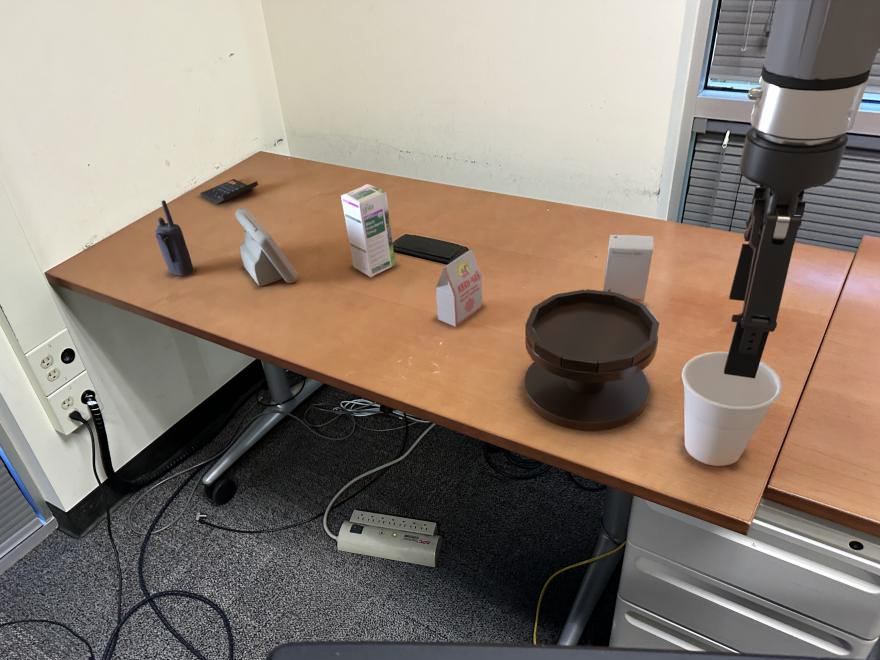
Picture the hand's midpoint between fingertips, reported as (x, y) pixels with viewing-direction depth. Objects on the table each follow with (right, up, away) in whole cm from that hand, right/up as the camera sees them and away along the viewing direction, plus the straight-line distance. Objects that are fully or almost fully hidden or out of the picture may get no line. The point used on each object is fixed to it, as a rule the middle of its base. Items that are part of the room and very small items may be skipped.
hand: (741, 334), depth 71 cm
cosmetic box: (0, +6, +34) cm, 35 cm away
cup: (+2, -13, +11) cm, 17 cm away
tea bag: (-24, +6, +40) cm, 47 cm away
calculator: (-71, +39, +89) cm, 120 cm away
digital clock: (-57, +16, +59) cm, 83 cm away
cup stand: (-9, -6, +22) cm, 24 cm away
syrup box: (-38, +16, +55) cm, 68 cm away
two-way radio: (-75, +16, +62) cm, 99 cm away
